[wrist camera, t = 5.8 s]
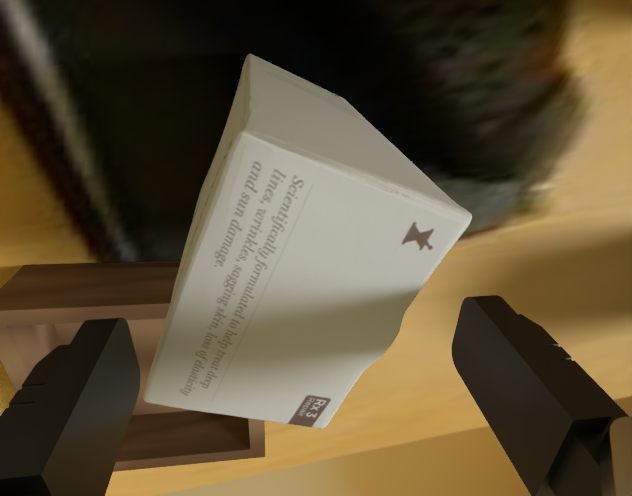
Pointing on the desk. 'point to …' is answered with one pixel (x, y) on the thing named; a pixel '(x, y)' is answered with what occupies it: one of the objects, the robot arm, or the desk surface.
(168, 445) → the tray
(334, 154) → the skincare box
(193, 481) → the desk surface
